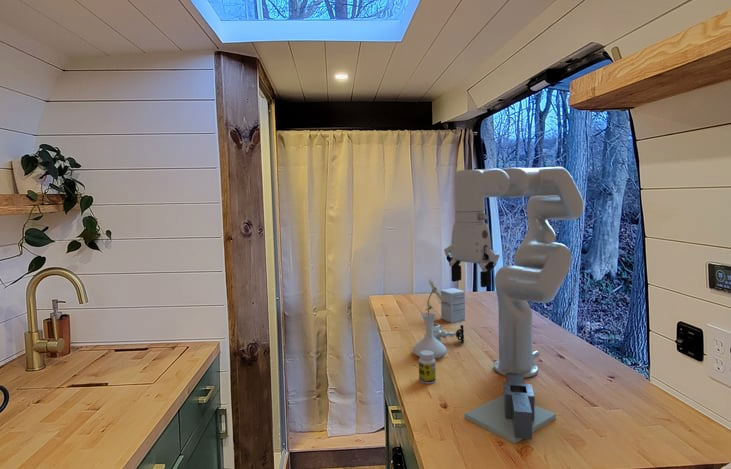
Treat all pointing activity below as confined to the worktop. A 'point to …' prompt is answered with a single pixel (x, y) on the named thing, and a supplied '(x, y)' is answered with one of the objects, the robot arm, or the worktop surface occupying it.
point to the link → (519, 408)
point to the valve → (447, 333)
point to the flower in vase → (430, 332)
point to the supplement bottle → (427, 367)
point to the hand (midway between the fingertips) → (470, 283)
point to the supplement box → (453, 305)
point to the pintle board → (494, 414)
